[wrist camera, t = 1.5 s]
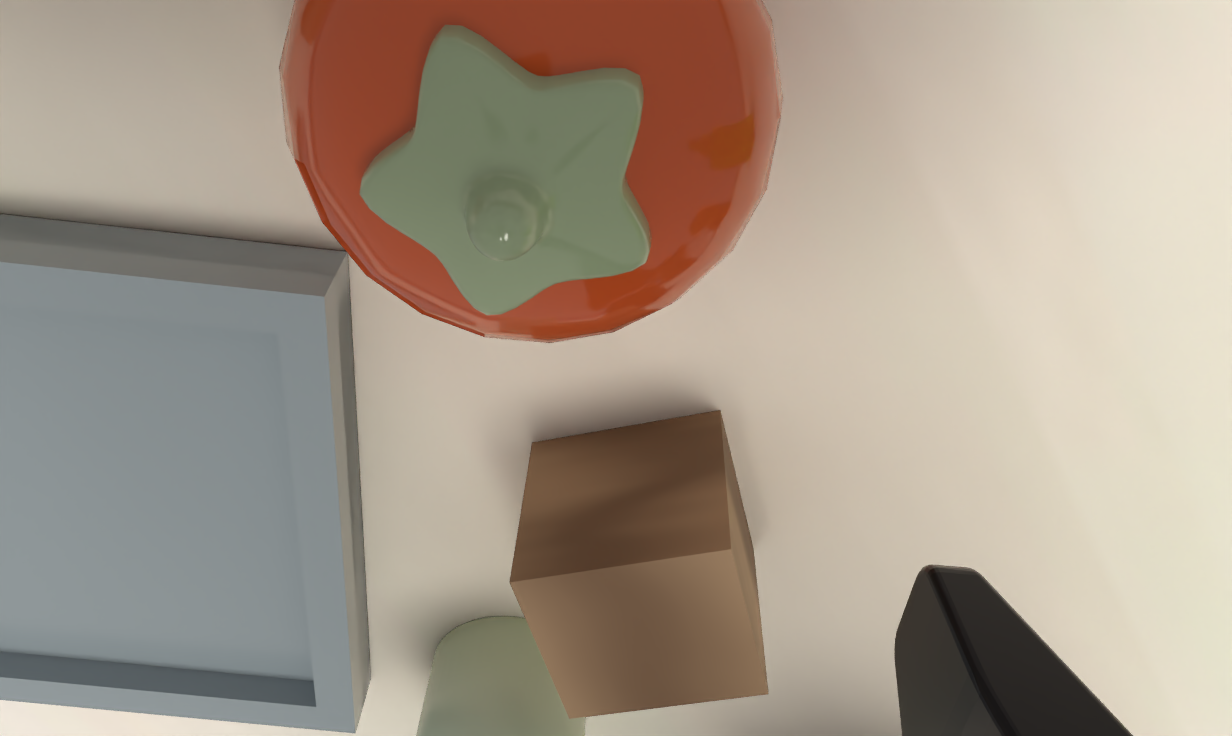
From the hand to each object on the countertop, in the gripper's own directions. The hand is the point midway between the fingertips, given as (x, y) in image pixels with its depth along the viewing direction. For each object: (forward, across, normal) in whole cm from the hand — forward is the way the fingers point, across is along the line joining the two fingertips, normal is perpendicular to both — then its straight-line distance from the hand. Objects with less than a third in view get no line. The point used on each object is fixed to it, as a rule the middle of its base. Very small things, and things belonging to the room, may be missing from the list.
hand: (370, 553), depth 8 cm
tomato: (+13, 0, 0) cm, 13 cm away
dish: (+13, +11, +12) cm, 20 cm away
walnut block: (+13, -3, +11) cm, 17 cm away
